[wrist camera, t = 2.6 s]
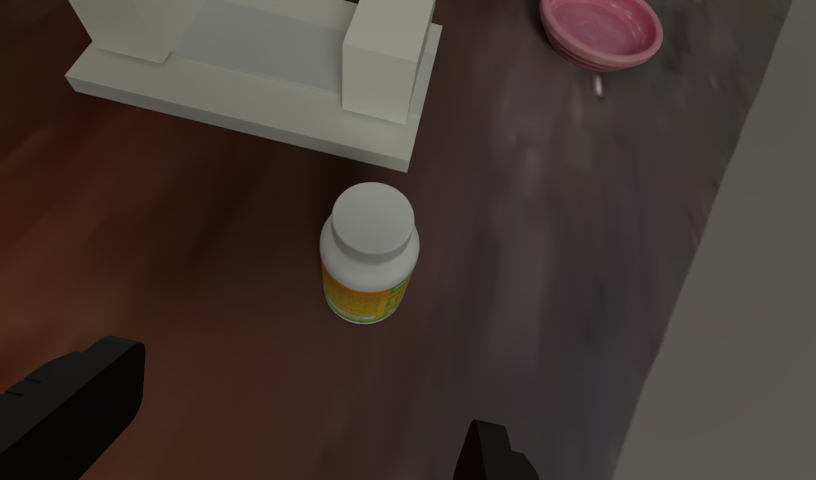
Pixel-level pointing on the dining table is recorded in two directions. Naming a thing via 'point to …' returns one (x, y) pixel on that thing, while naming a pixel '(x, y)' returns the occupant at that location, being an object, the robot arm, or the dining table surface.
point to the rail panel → (270, 67)
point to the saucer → (602, 32)
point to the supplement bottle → (368, 252)
